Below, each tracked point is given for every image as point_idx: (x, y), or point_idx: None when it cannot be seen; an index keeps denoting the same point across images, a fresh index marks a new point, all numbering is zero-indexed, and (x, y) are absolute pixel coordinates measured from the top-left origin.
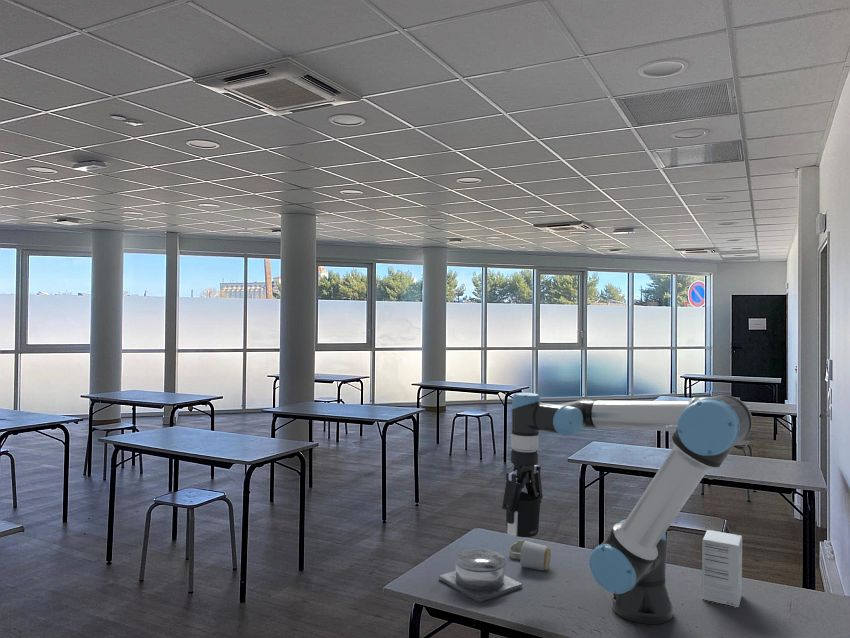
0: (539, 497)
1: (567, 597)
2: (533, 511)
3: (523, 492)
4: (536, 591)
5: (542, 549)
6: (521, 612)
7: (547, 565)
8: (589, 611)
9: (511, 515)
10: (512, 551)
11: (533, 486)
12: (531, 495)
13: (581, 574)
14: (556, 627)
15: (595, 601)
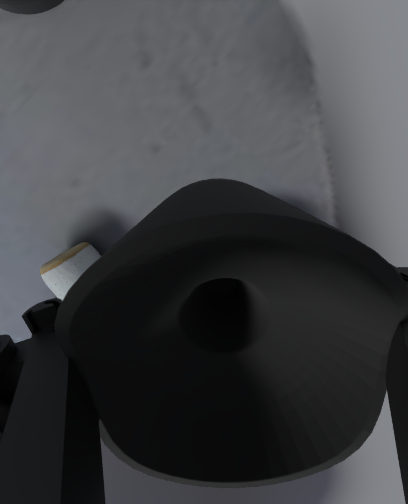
0: (96, 280)
1: (132, 121)
2: (255, 195)
3: (126, 448)
4: (170, 189)
5: (67, 269)
6: (272, 136)
7: (74, 247)
8: (141, 23)
9: (394, 267)
10: None
11: (35, 501)
12: (86, 388)
13: (19, 187)
14: (275, 18)
15: (86, 55)
